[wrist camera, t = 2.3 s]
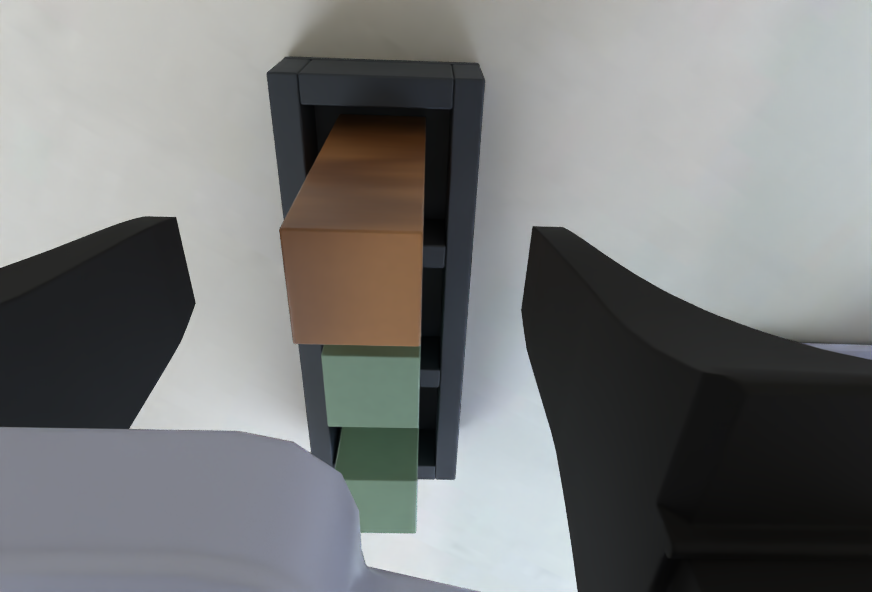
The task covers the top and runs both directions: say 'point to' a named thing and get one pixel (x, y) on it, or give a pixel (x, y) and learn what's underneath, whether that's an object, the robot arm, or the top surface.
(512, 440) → the top surface
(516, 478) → the top surface
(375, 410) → the middle green stick
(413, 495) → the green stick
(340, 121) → the oak stick
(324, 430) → the organizer
